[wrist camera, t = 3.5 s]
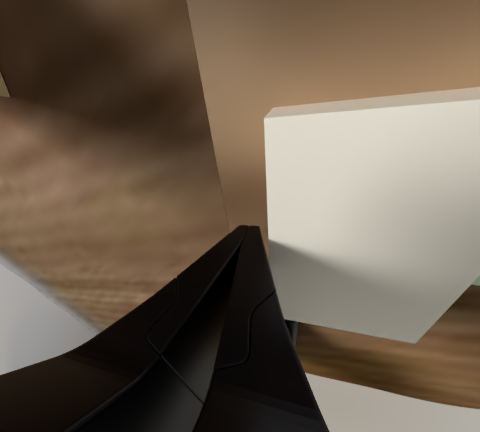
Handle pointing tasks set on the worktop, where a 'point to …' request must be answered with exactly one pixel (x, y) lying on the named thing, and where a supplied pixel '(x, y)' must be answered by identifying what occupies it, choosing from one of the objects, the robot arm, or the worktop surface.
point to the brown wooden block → (316, 69)
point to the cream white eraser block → (374, 209)
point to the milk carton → (3, 88)
